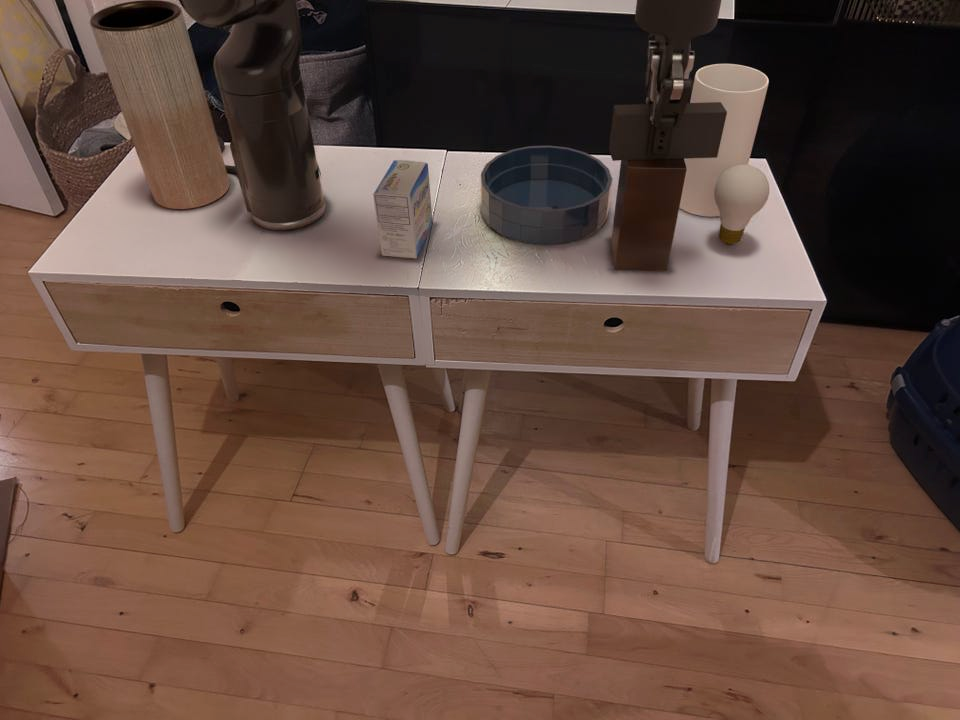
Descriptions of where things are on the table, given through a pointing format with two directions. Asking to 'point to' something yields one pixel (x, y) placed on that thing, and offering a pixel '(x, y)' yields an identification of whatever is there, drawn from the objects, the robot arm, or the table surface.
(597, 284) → the table surface
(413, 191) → the medicine box
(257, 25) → the robot arm
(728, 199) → the light bulb
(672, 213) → the stand
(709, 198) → the cup
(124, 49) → the planter
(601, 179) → the bowl
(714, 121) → the dark brown flat block
